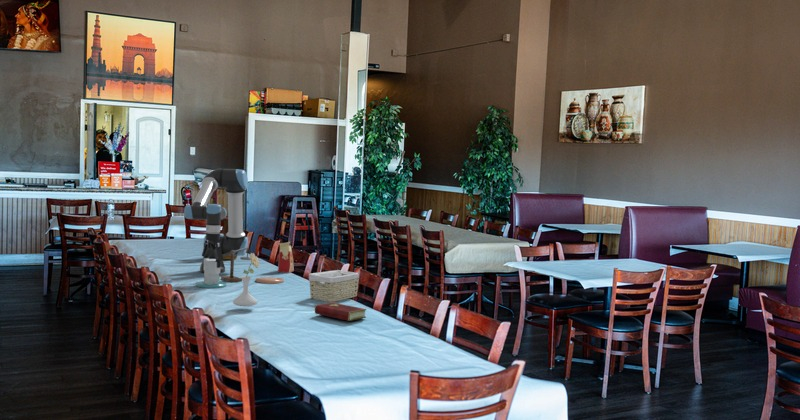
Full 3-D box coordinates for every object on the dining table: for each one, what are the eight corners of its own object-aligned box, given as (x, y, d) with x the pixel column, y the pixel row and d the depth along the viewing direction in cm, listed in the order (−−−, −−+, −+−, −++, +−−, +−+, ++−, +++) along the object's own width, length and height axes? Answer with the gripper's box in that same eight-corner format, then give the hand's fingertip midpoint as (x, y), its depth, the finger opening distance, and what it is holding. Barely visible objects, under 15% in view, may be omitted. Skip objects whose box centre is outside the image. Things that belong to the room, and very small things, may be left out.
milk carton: (293, 272, 456) (294, 240, 454) (290, 274, 446) (291, 242, 445) (279, 271, 456) (280, 240, 455) (275, 273, 447) (276, 241, 446)
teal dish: (190, 284, 390) (190, 282, 390) (217, 282, 401) (218, 280, 401) (204, 289, 378) (204, 286, 378) (231, 287, 389) (231, 284, 389)
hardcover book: (348, 321, 319) (349, 311, 319) (314, 313, 332) (314, 304, 331) (366, 317, 328) (366, 308, 328) (332, 310, 341) (332, 301, 341)
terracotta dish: (250, 280, 415) (250, 278, 415) (274, 278, 426) (274, 276, 426) (264, 284, 403) (264, 282, 403) (289, 282, 414) (289, 280, 414)
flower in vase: (245, 309, 332) (247, 255, 330) (227, 305, 338) (229, 252, 336) (264, 305, 343) (266, 253, 341) (247, 302, 349) (249, 250, 347)
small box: (218, 284, 388) (219, 260, 387) (207, 284, 385) (207, 260, 384) (215, 282, 395) (216, 258, 394) (203, 282, 392) (204, 258, 391)
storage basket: (330, 306, 361) (331, 277, 361) (306, 301, 371) (307, 273, 370) (359, 300, 381) (360, 273, 380) (336, 296, 390) (337, 269, 390)
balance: (204, 280, 407) (205, 246, 406) (247, 277, 425) (248, 245, 424) (214, 283, 398) (215, 249, 397) (257, 280, 416) (259, 247, 415)
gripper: (196, 230, 395) (195, 268, 397) (217, 235, 376) (216, 275, 378) (209, 230, 400) (207, 268, 401) (230, 235, 381) (229, 274, 383)
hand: (211, 271), depth 390 cm, fingers open, 13 cm apart
